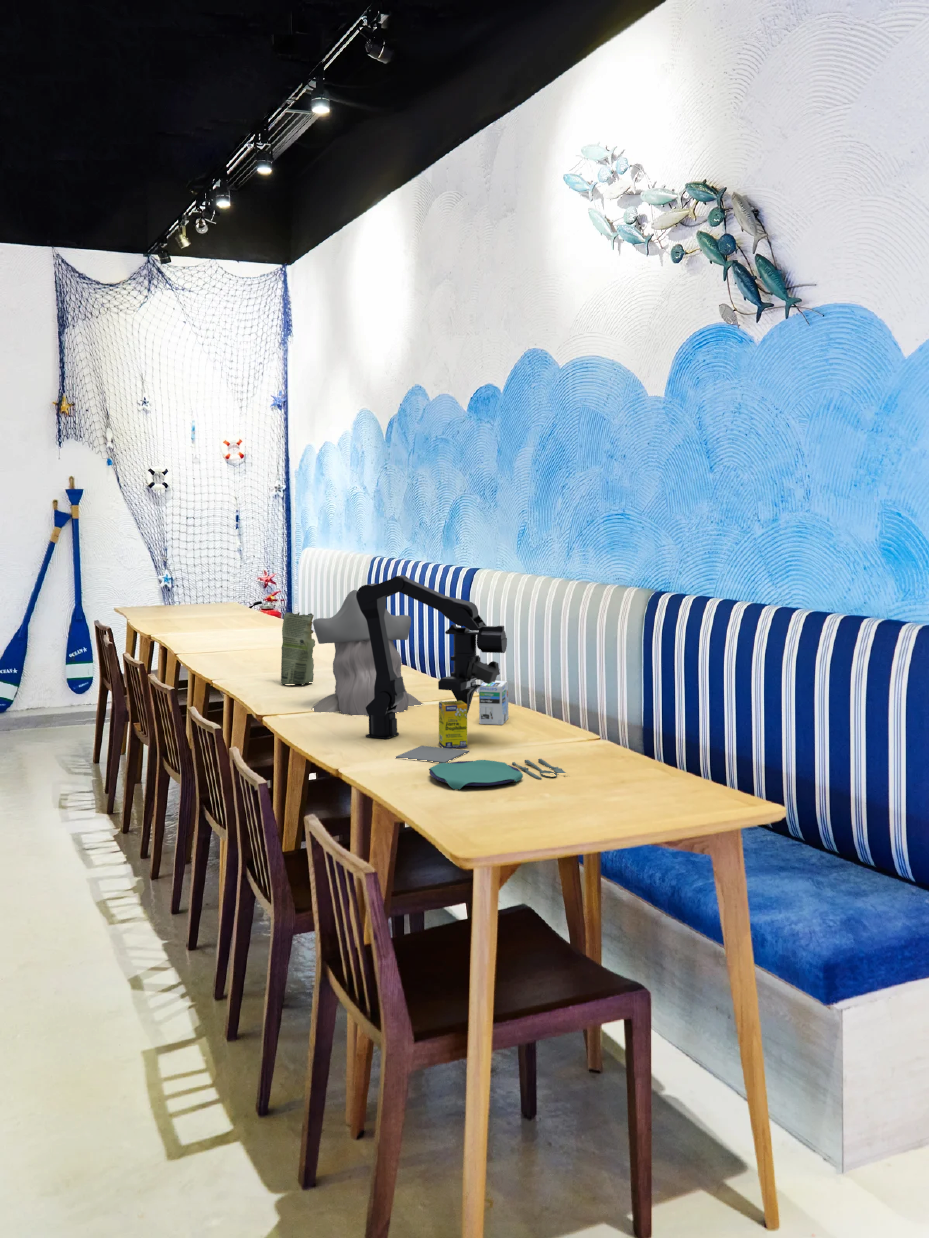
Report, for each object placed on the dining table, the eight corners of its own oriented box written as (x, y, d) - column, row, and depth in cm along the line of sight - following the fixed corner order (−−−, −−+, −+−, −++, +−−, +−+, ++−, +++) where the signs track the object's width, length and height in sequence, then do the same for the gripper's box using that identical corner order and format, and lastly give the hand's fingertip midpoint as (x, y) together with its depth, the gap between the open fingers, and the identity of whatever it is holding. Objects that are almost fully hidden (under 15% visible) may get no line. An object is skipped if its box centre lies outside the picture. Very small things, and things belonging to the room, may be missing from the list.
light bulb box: (502, 725, 279) (502, 686, 278) (478, 724, 280) (478, 685, 279) (509, 717, 289) (509, 680, 288) (485, 717, 291) (485, 679, 290)
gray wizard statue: (406, 693, 331) (404, 585, 327) (437, 712, 299) (436, 592, 295) (301, 700, 320) (298, 588, 316) (322, 720, 288) (320, 595, 284)
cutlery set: (417, 773, 228) (417, 762, 228) (539, 763, 239) (539, 753, 238) (447, 796, 209) (447, 785, 209) (579, 784, 220) (579, 773, 220)
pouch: (282, 682, 355) (280, 610, 352) (317, 681, 356) (315, 609, 354) (279, 687, 344) (278, 613, 341) (315, 686, 345) (314, 612, 343)
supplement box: (444, 749, 250) (444, 705, 249) (438, 744, 256) (438, 701, 255) (468, 748, 252) (467, 703, 251) (461, 742, 257) (461, 699, 256)
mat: (395, 758, 241) (395, 756, 241) (421, 747, 253) (421, 745, 253) (444, 763, 236) (444, 762, 236) (469, 752, 247) (469, 750, 247)
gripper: (478, 658, 246) (478, 722, 247) (509, 649, 263) (509, 709, 264) (436, 655, 251) (437, 719, 252) (470, 647, 267) (470, 706, 269)
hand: (465, 713), depth 259 cm, fingers closed
